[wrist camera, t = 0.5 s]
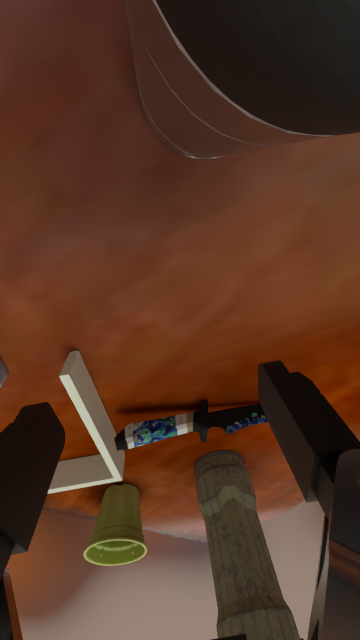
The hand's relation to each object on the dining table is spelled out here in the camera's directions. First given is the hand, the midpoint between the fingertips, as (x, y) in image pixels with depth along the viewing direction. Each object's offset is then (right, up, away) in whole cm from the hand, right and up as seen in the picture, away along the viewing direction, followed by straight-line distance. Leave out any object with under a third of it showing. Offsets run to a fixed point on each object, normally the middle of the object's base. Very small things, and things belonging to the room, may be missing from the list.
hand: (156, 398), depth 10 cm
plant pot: (-10, -28, +36) cm, 47 cm away
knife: (+7, -9, +27) cm, 29 cm away
